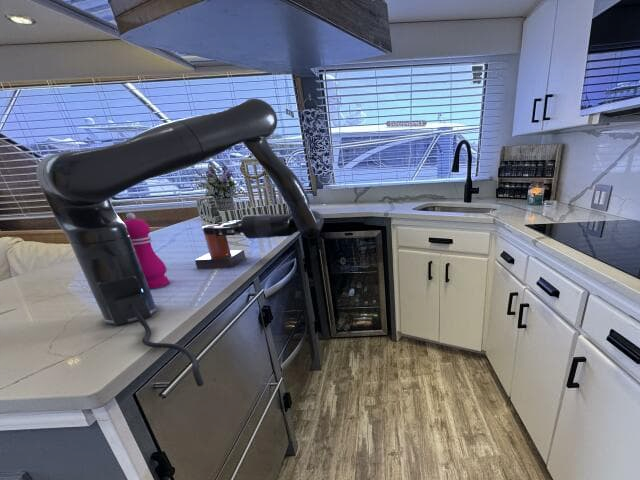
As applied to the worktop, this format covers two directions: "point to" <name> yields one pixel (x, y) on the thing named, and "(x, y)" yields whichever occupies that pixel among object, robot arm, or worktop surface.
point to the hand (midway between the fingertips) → (211, 228)
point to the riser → (220, 260)
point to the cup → (217, 244)
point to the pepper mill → (146, 252)
